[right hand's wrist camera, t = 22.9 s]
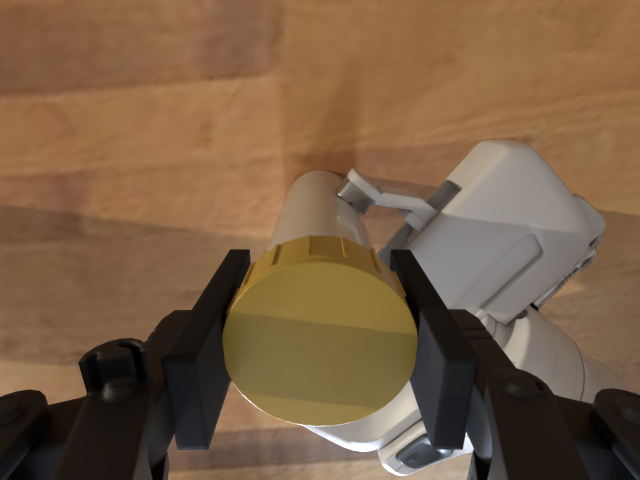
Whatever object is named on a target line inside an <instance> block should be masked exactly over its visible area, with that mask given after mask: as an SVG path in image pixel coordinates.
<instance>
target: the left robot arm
mask: <svg viewBox="0 0 640 480" xmlns="http://www.w3.org/2000/svg"><path fill="white" fill-rule="evenodd" d="M336 190H337V191H336V193H337V194H338V195H339V196H340V197H341V198H342V199H343V200H345V201H346V202H350V203H352V205H353V207H354V208H355V209H356V210H357V211H358V212H360V213H361V214H362V215H364V213H365V212H366V211H367V210H368V209H369V208H370V207H371V206H372V205H373V204H376V205H382V206H388V207H394V208H397V210H398V212H399V213H400V214H401V216H402V217H403V218H404V220H405V221H406V223H405V224H404V225H403V226H402V227H401V228H400V229H399V230H398V231H397V232H396V233H395V235H394V236H393V237H392V238H391V239H390V240H389V241H388V242H387V243H386V244H385V245H384V246H383V248H382V249H381V250H380V251H379V252H378V253H377V254H376V255H377V256H379V257H380V258H381V259H382V260H383V261H384V262H385V263H386V264H387V266H388V267H390V254H391V249H410V250H411V252H412V253H413V255H414V256H415V258H416V260H417V261H418V263H419V264H420V266H421V267H422V269H423V271H424V272H425V274H426V275H427V277H428V278H429V280H430V282H431V283H432V285H433V286H434V288H435V289H436V291H437V293H438V294H439V296H440V297H441V299H442V300H443V302H444V304H445V305H446V307H447V308H448V309H466V310H467V311H469V312H470V313H472V314H473V315H475V316H476V317H478V318H479V319H480V321H481V322H482V323H483V325H484V326H485V327H486V330H487V331H489V333H490V334H491V335H492V337H493V339H495V341H496V342H497V343H498V345H499V346H500V347H501V348H502V350H503V351H504V352H505V354H506V355H507V356H508V358H509V359H510V360H511V362H512V363H513V364H514V366H515V367H516V368H517V369H521V370H524V371H527V372H529V373H531V374H533V375H535V376H537V377H538V378H540V379H541V380H542V381H543V382H545V383H546V384H547V385H548V386H549V388H550V389H551V391H552V392H553V394H554V395H557V396H561V397H565V398H569V399H574V400H578V401H583V402H587V403H592V404H593V401H594V398H595V395H596V393H598V392H599V391H600V390H601V389H608V388H615V389H621V390H626V391H630V392H632V393H635V392H634V391H633V390H632V389H631V388H630V387H629V386H628V385H626V384H625V383H624V382H623V381H622V380H621V379H620V378H619V377H617V376H616V375H615V374H614V373H613V372H612V371H610V370H609V369H608V368H606V367H605V366H604V365H602V364H601V363H599V362H598V361H596V360H594V359H592V358H590V357H588V356H586V355H583V353H582V352H581V350H580V349H579V347H578V346H577V345H576V343H575V342H574V341H573V340H572V339H571V338H570V337H569V336H568V335H567V334H566V333H565V332H563V331H562V330H561V329H560V328H559V327H557V326H556V325H555V324H554V323H553V322H551V321H550V320H549V319H548V318H547V317H545V316H544V315H543V314H542V313H540V312H539V310H538V308H540V307H541V306H542V305H543V304H544V303H546V302H547V301H548V300H549V299H550V298H551V297H553V296H554V295H555V294H556V293H557V292H558V291H559V290H560V289H561V288H562V286H564V285H565V283H567V281H568V280H569V279H570V278H572V276H574V275H575V274H576V273H577V272H578V271H579V270H580V271H582V270H583V269H585V268H586V267H587V266H588V265H589V264H590V263H591V262H592V261H593V260H594V259H595V258H596V256H597V255H598V252H597V251H596V250H595V249H596V247H597V246H598V245H599V243H600V241H601V239H602V237H603V234H604V230H605V228H606V223H605V221H604V219H603V217H602V216H601V215H600V213H599V212H598V211H597V210H596V209H595V208H594V207H593V206H592V205H590V204H589V203H588V202H587V201H586V200H585V199H584V198H583V197H581V196H579V195H577V194H573V193H571V192H570V191H569V189H568V188H567V187H566V185H565V184H564V182H563V181H562V180H561V179H560V177H559V176H558V175H557V174H556V172H555V171H554V170H553V169H552V167H551V166H550V165H549V164H548V163H547V162H546V161H545V159H544V158H543V157H542V156H541V155H540V154H539V153H538V152H537V151H536V150H535V149H533V148H532V147H530V146H528V145H526V144H523V143H521V142H517V141H512V140H488V141H482V142H480V143H479V144H477V145H476V146H475V147H474V148H473V150H472V151H471V152H470V153H469V154H468V155H467V156H466V157H465V158H464V159H463V160H462V162H461V163H460V164H459V165H458V166H457V167H456V168H455V169H454V170H453V171H452V172H451V174H450V175H449V176H448V177H447V178H446V179H445V180H444V181H443V182H442V183H441V184H440V185H439V187H438V188H437V189H436V190H435V191H434V192H433V193H432V194H431V195H430V196H429V197H428V199H427V200H426V201H425V200H423V199H422V198H421V197H420V196H419V195H417V194H416V193H415V192H414V191H413V190H409V189H402V188H395V187H388V186H380V185H378V186H377V187H376V186H375V185H374V184H373V183H371V182H370V181H369V180H368V179H367V178H365V177H364V176H363V175H362V174H361V173H359V172H358V171H357V170H355V169H354V168H352V169H351V170H350V172H349V173H348V174H347V175H346V176H345V178H344V179H343V180H342V181H341V183H340V184H339V185H338V187H337V188H336ZM303 426H304V427H306V428H308V429H309V430H311V431H313V432H315V433H317V434H318V435H320V436H322V437H324V438H326V439H328V440H330V441H332V442H334V443H336V444H338V445H340V446H343V447H345V448H348V449H351V450H356V451H372V450H376V449H377V450H378V454H379V457H380V461H381V464H382V465H383V467H384V468H386V469H387V470H388V471H390V472H391V473H393V474H396V475H399V476H405V475H409V474H412V473H415V472H417V471H419V470H421V469H424V468H426V467H428V466H431V465H433V464H436V463H438V462H441V461H443V460H446V459H449V458H452V457H455V456H458V455H462V454H466V453H470V452H473V446H472V444H471V442H470V439H469V437H468V435H467V433H466V435H465V441H464V446H463V450H432V448H431V445H430V441H429V438H428V435H427V432H426V429H425V426H424V423H423V420H422V417H421V414H420V411H419V408H418V405H417V402H416V399H415V396H414V393H413V390H412V387H411V383H410V380H408V382H407V384H406V385H405V387H404V388H403V389H402V391H401V392H400V393H399V394H398V395H397V396H396V397H395V398H394V399H393V400H392V401H391V402H390V403H388V404H387V405H386V406H385V407H383V408H382V409H380V410H378V411H377V412H375V413H373V414H371V415H369V416H367V417H365V418H362V419H360V420H357V421H354V422H350V423H346V424H342V425H335V426H321V427H318V426H305V425H303Z"/></svg>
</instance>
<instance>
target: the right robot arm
mask: <svg viewBox="0 0 640 480" xmlns="http://www.w3.org/2000/svg"><path fill="white" fill-rule="evenodd" d="M250 265H251V263H250V249H230V251H229V252H228V254H227V255H226V257H225V259H224V260H223V262H222V263H221V265H220V266H219V268H218V270H217V271H216V273H215V274H214V276H213V277H212V279H211V281H210V282H209V284H208V285H207V287H206V288H205V290H204V292H203V293H202V295H201V296H200V298H199V299H198V301H197V303H196V304H195V306H194V307H193V309H192V310H175V311H173V312H172V313H171V314H169V315H168V316H166V317H165V318H163V319H162V320H161V321H160V323H159V324H158V325H157V327H156V328H155V329H154V332H152V333H151V335H150V336H149V337H148V340H147V341H145V343H143V342H142V341H141V340H137V339H133V338H125V339H117V340H113V341H109V342H106V343H104V344H101V345H99V346H97V347H95V348H93V349H92V350H90V351H89V352H87V353H86V354H85V355H84V356H83V357H82V358H81V360H80V361H79V362H78V363H79V366H80V370H81V373H82V377H83V380H84V384H85V387H86V391H87V395H86V396H85V397H81V398H78V399H74V400H69V401H65V402H60V403H56V404H51V405H48V403H47V400H46V397H45V395H44V394H43V393H42V392H40V391H37V390H23V391H16V392H13V393H10V394H7V395H4V396H1V397H0V480H168V472H169V459H168V453H167V449H168V447H169V444H170V442H171V440H172V438H173V435H174V433H175V439H176V444H177V450H208V449H209V446H210V443H211V440H212V436H213V433H214V430H215V427H216V424H217V421H218V418H219V415H220V412H221V409H222V406H223V403H224V400H225V397H226V394H227V391H228V388H229V385H230V382H231V378H230V376H229V374H228V372H227V369H226V366H225V358H224V349H223V340H222V333H223V327H224V324H225V321H226V318H227V315H225V314H226V312H227V309H228V307H229V305H230V303H231V301H232V299H233V296H234V294H235V292H236V290H237V288H240V286H241V284H242V282H243V280H244V278H245V276H246V274H247V271H248V269H249V267H250ZM389 268H390V269H391V271H392V272H393V271H395V272H396V274H397V276H398V279H399V281H400V283H401V285H402V287H403V289H404V292H405V294H406V296H405V299H406V302H407V304H408V306H409V308H410V311H411V313H412V315H413V317H414V319H415V323H416V327H417V330H418V344H417V353H416V362H415V367H414V370H413V373H412V375H411V377H410V379H409V380H410V383H411V387H412V390H413V393H414V396H415V399H416V402H417V405H418V408H419V411H420V414H421V417H422V420H423V423H424V426H425V429H426V432H427V435H428V438H429V441H430V445H431V448H432V450H463V446H464V441H465V435H466V433H467V435H468V437H469V439H470V442H471V444H472V446H473V453H472V458H471V463H470V468H469V473H468V478H467V480H640V395H638V394H636V393H632V392H630V391H626V390H621V389H615V388H608V389H601V390H600V391H599V392H598V393H596V395H595V398H594V401H593V404H592V403H587V402H583V401H578V400H574V399H569V398H565V397H561V396H557V395H554V394H553V392H552V391H551V389H550V388H549V386H548V385H547V384H546V383H545V382H543V381H542V380H541V379H540V378H538V377H537V376H535V375H533V374H531V373H529V372H527V371H524V370H521V369H517V368H516V367H515V366H514V364H513V363H512V362H511V360H510V359H509V358H508V356H507V355H506V354H505V352H504V351H503V350H502V348H501V347H500V346H499V345H498V343H497V342H496V341H495V339H493V337H492V335H491V334H490V333H489V331H487V330H486V327H485V326H484V325H483V323H482V322H481V321H480V319H479V318H478V317H476V316H475V315H473V314H472V313H470V312H469V311H467V310H466V309H448V308H447V307H446V305H445V304H444V302H443V300H442V299H441V297H440V296H439V294H438V293H437V291H436V289H435V288H434V286H433V285H432V283H431V282H430V280H429V278H428V277H427V275H426V274H425V272H424V271H423V269H422V267H421V266H420V264H419V263H418V261H417V260H416V258H415V256H414V255H413V253H412V252H411V250H410V249H391V254H390V267H389Z"/></svg>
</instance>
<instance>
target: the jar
mask: <svg viewBox="0 0 640 480" xmlns="http://www.w3.org/2000/svg"><path fill="white" fill-rule="evenodd" d="M342 180H343V178H341V177H340V176H338V175H337V174H335V173H332V172H329V171H324V170H316V171H311V172H308V173H306V174H303V175H302V176H300V177H299V178H298V179H296V180H295V182H294V183H293V184H292V185H291V187H290V189H289V191H288V193H287V196H286V199H285V201H284V204H283V206H282V209H281V212H280V214H279V217H278V219H277V222H276V225H275V227H274V230H273V232H272V235H271V238H270V240H269V243H268V245H267V248H266V251H265V253H267V252H268V251H270V250H271V249H273V248H274V247H275V245H276V244H279V245H280V244H282V243H285V242H287V241H290V240H293V239H296V238H301V237H307V235H308V234H311V236H319V235H323V236H334V237H339V238H341V236H343V237H345V239H347V240H350V241H353V242H356V243H358V244H360V245H362V246H364V247H366V248H368V249H369V250H372V249H373V250H374V247H373V245H372V242H371V240H370V237H369V234H368V232H367V229H366V227H365V224H364V221H363V219H362V216H361V214H360V212H358V211H357V210H356V209H355V208H354V207H353V205H352V203H350V202H346V201H345V200H343V199H342V198H341V197H340V196H339V195H338V194H337V193H336V191H337V190H336V188H337V187H338V185H339V184H340V183H341V181H342ZM374 251H375V250H374ZM265 253H264V254H265ZM375 253H376V252H375Z"/></svg>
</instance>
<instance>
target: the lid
mask: <svg viewBox="0 0 640 480" xmlns="http://www.w3.org/2000/svg"><path fill="white" fill-rule="evenodd" d="M405 296H406V294H405V292H404V289H403V287H402V285H401V283H400V281H399V279H398V276H397V274H396V272H395V271H393V272H392V271H391V269H390V268H389V267H388V266H387V264H386V263H385V262H384V261H383V260H382V259H381V258H380V257H379V256H377V255H376V253H375V251H374V250H373V249H372V250H369V249H368V248H366V247H364V246H362V245H360V244H358V243H356V242H353V241H350V240H347V239H345V237H343V236H341V238H339V237H334V236H323V235H319V236H311V234H308V235H307V237H301V238H296V239H293V240H290V241H287V242H285V243H282V244H280V245H279V244H276V245H275V247H274V248H273V249H271V250H270V251H268V252H267V253H265V254H264V255H263V256H262V257H261V258H259V259H258V260H257V261H256V262H255V264H254V263H251V265H250V267H249V269H248V271H247V274H246V276H245V278H244V280H243V282H242V284H241V286H240V288H237V290H236V292H235V294H234V296H233V299H232V301H231V303H230V305H229V307H228V309H227V312H226V314H225V315H227V318H226V321H225V324H224V327H223V333H222V340H223V349H224V358H225V366H226V369H227V372H228V374H229V376H230V378H231V380H232V382H233V383H234V385H235V386H236V387H237V389H238V390H239V391H240V392H241V394H242V395H243V396H244V397H245V398H246V399H247V400H248V401H250V402H251V403H252V404H253V405H254V406H256V407H257V408H259V409H260V410H262V411H263V412H265V413H267V414H269V415H271V416H273V417H275V418H278V419H281V420H283V421H286V422H290V423H294V424H299V425H305V426H318V427H321V426H335V425H342V424H346V423H350V422H354V421H357V420H360V419H362V418H365V417H367V416H369V415H371V414H373V413H375V412H377V411H378V410H380V409H382V408H383V407H385V406H386V405H387V404H388V403H390V402H391V401H392V400H393V399H394V398H395V397H396V396H397V395H398V394H399V393H400V392H401V391H402V389H403V388H404V387H405V385H406V384H407V382H408V380H409V379H410V377H411V375H412V373H413V370H414V367H415V362H416V353H417V344H418V330H417V327H416V323H415V319H414V317H413V315H412V313H411V311H410V308H409V306H408V304H407V302H406V299H405Z"/></svg>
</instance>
